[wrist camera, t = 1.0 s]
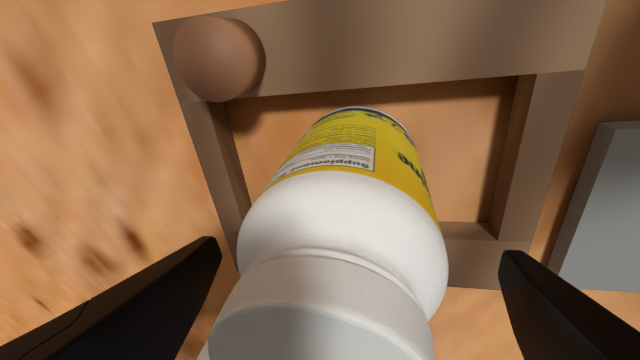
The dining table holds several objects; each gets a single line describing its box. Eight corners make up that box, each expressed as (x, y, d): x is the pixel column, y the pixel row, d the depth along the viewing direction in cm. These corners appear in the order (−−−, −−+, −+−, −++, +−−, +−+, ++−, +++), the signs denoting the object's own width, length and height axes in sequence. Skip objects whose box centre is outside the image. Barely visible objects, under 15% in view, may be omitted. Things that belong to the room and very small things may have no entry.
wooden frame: (591, -43, 10) (687, -77, 7) (505, 270, 16) (533, 324, 13) (174, 23, 13) (113, 21, 10) (246, 255, 20) (222, 295, 17)
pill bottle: (418, 204, 15) (477, 482, 6) (313, 209, 17) (229, 435, 8) (414, 92, 13) (513, 276, 3) (290, 111, 14) (112, 271, 5)
